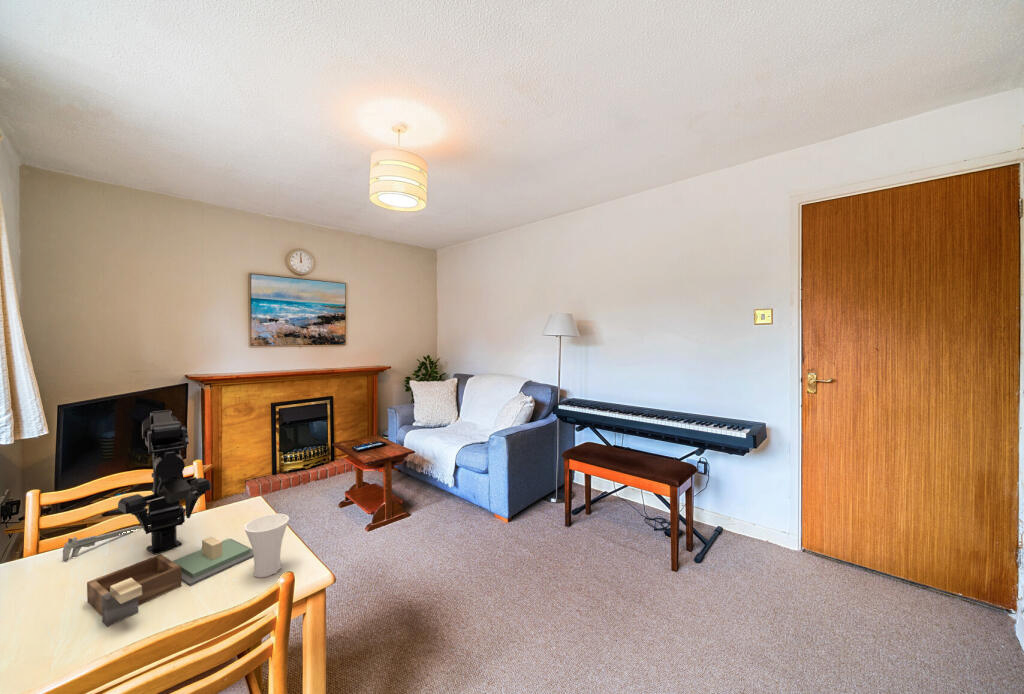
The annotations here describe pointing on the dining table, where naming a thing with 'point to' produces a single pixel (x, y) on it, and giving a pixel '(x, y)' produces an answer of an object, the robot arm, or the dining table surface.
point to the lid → (211, 556)
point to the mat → (192, 581)
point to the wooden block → (125, 590)
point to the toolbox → (150, 574)
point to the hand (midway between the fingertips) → (168, 524)
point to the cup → (266, 542)
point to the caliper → (90, 541)
